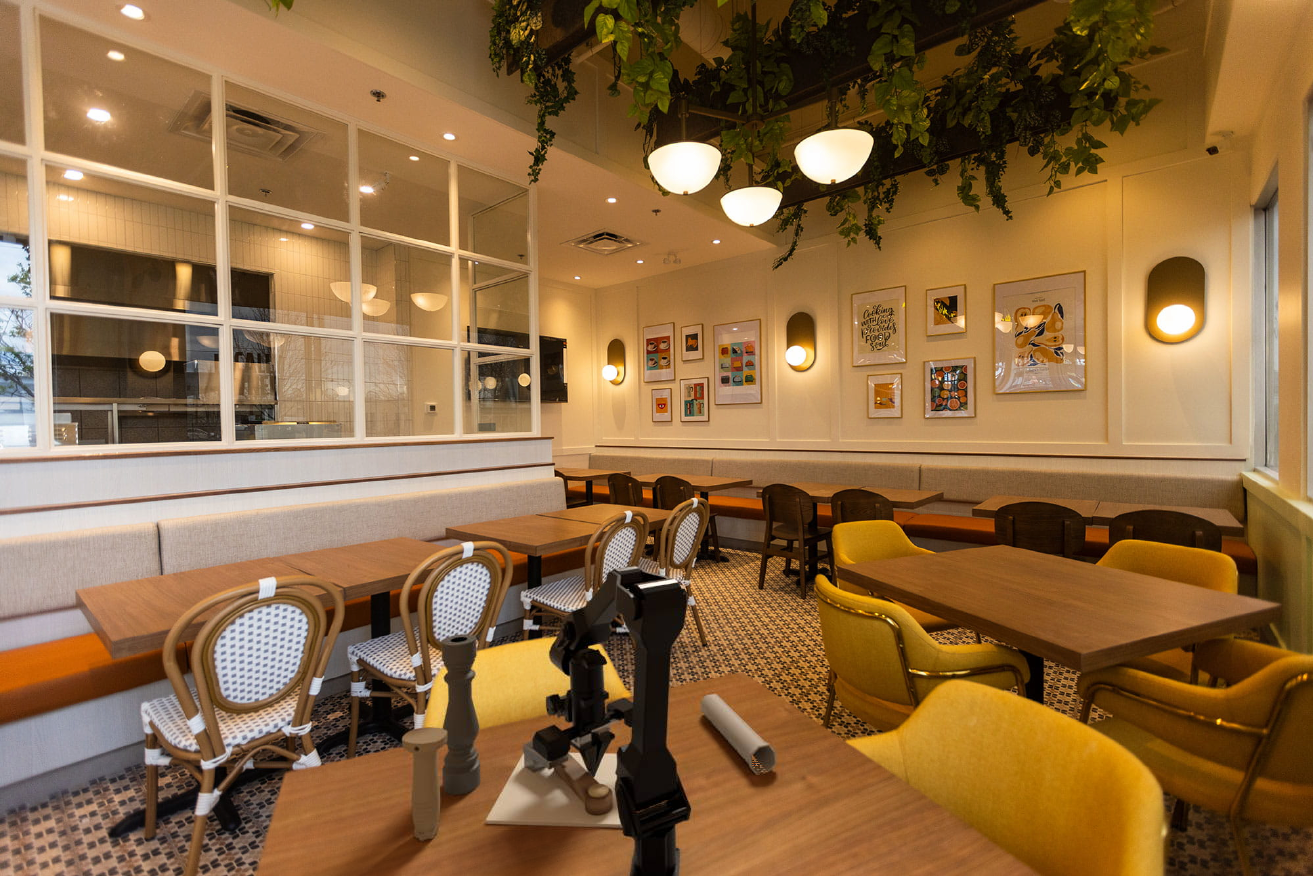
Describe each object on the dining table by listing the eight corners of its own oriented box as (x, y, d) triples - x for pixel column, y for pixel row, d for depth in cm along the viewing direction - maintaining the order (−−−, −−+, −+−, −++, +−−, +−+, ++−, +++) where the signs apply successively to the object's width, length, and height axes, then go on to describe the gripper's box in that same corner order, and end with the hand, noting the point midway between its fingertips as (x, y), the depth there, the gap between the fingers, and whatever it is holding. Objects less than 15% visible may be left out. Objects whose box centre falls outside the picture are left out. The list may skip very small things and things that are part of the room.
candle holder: (434, 789, 100) (432, 642, 100) (462, 771, 106) (459, 631, 106) (461, 799, 97) (458, 648, 97) (488, 779, 103) (485, 636, 103)
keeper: (568, 776, 102) (568, 753, 102) (549, 786, 99) (549, 762, 99) (540, 758, 108) (540, 736, 108) (521, 767, 105) (521, 745, 105)
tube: (693, 696, 126) (745, 754, 102) (714, 685, 127) (771, 739, 104) (701, 719, 126) (755, 781, 103) (722, 707, 128) (780, 766, 104)
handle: (439, 847, 86) (437, 744, 86) (397, 844, 86) (395, 742, 87) (454, 825, 90) (452, 728, 91) (415, 823, 91) (413, 726, 91)
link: (617, 808, 93) (617, 795, 93) (593, 819, 91) (592, 806, 91) (572, 763, 106) (572, 752, 106) (550, 771, 104) (549, 759, 104)
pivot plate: (626, 827, 89) (626, 806, 89) (485, 823, 91) (485, 802, 91) (640, 756, 109) (640, 739, 109) (524, 754, 111) (524, 736, 111)
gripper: (607, 657, 112) (611, 738, 112) (515, 687, 100) (520, 778, 100) (642, 675, 103) (646, 763, 103) (546, 710, 92) (551, 809, 92)
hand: (591, 776), depth 100 cm, fingers closed
